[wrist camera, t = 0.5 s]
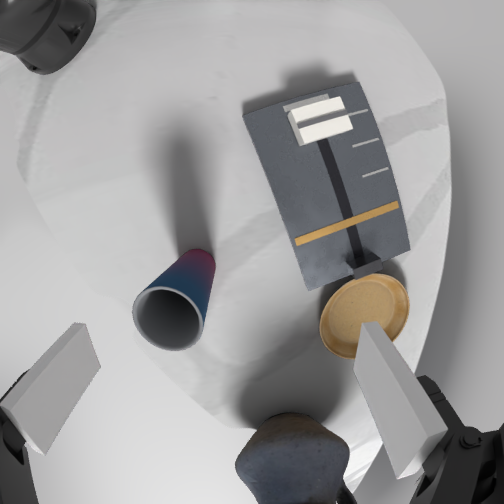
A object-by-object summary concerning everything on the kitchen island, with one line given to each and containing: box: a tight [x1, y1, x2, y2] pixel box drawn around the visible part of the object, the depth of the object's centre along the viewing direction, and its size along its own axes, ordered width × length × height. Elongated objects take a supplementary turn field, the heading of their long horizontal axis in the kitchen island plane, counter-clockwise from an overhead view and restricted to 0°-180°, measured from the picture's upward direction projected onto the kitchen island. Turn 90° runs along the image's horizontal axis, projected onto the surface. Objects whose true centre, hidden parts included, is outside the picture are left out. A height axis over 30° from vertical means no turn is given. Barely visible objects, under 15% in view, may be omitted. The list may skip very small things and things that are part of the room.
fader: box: [287, 96, 353, 146], centre depth 29 cm, size 4×6×4 cm, turn 111°
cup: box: [132, 249, 216, 351], centre depth 31 cm, size 7×7×15 cm
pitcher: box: [235, 412, 357, 504], centre depth 36 cm, size 21×22×25 cm
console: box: [242, 82, 410, 291], centre depth 32 cm, size 24×16×5 cm, turn 21°
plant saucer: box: [319, 273, 410, 359], centre depth 39 cm, size 15×15×3 cm
